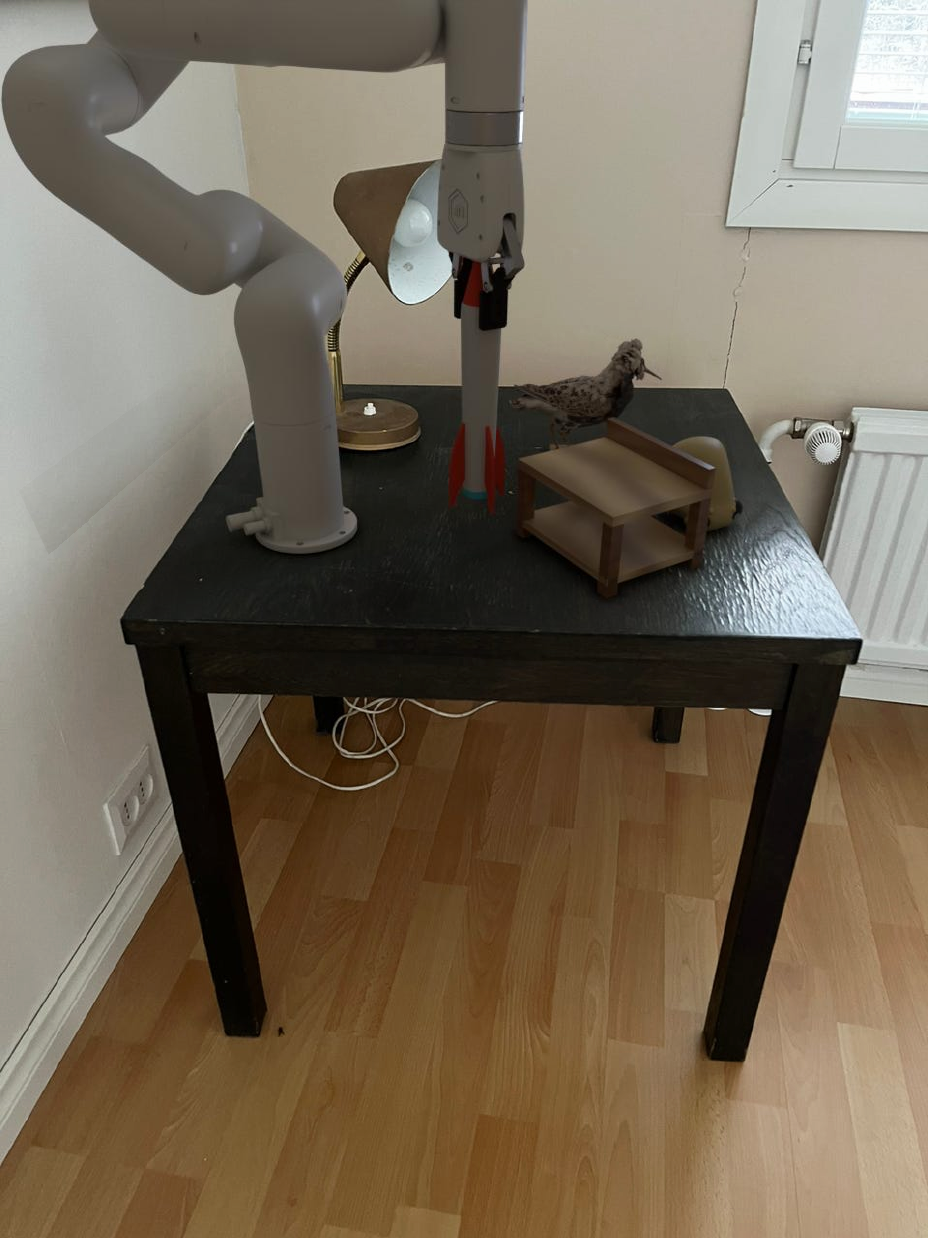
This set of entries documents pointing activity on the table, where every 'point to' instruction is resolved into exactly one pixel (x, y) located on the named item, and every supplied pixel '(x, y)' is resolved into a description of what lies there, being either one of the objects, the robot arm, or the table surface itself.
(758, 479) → the table surface
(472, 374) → the toy rocket
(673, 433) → the table surface
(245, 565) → the table surface
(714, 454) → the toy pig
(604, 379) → the stuffed bird
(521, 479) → the rack
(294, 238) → the robot arm
